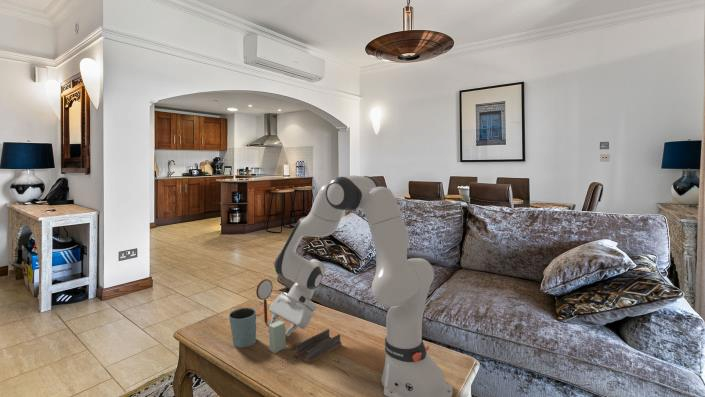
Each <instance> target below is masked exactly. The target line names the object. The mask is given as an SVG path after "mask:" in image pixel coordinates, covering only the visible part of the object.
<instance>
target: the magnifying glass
mask: <svg viewBox="0 0 705 397" xmlns="http://www.w3.org/2000/svg"><path fill="white" fill-rule="evenodd" d="M255 290H256V292H255V294H256V297H257V298H258V299H259V300H262V301H263V313H264V314H263V316H264V318H263V319H264V323H265V325H267V324H268V303H267V302H268V301H267V299H268V298H269V297H270V296H271V294H272V292H273V283H272V281H271V280H270V279H267V278H266V279H265V278H264V279H263V280H260V282H259V283H258V285H257V286H256V289H255Z"/></svg>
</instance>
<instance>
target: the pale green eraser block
mask: <svg viewBox="0 0 705 397" xmlns="http://www.w3.org/2000/svg"><path fill="white" fill-rule="evenodd" d="M269 324H270V323H269ZM269 324H268V332H269V333H268V335H269V336H268V337H269V350H270V352H272V353H274V354H276V353H278V352H280V351H283V350H284V349H286V347H287V346H286V345H287V344H286V335H285V334H284V332H285V330H286V322H285V321H282V320H278V321H277V320H276V322H275V323H272V324H270V325H269Z"/></svg>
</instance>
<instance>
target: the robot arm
mask: <svg viewBox="0 0 705 397" xmlns="http://www.w3.org/2000/svg"><path fill="white" fill-rule="evenodd" d="M357 209H358V210H361V211H362V212H363V213H364V215H365V217H366V221H367V224H368V228H369V231H370V234H371V238H372V241H373V245H374V251H375V257H376V258H375V260H376V261H375V262H376V263H375V265H376V266H375V275H374V277H373V280H372V282H371V293H372V295H373V298H374V299H375V301H376V302H377V303H378V304H379V305H380V306H382V307H384V308H389V309H388V311H387V314H386V317H385V318H386V326H385V327H386V328H385V329H386V330H385V331H386V336H385V338H384V352H385V360H384V366H383V371H382V373H381V374H382V375H381V378H380V380H381V382H380V383H381V384H382V387H383V394H384V396H385V397H453V395H454V390H453V389H454V388H453V386H452V385H450V384H449V383H447V382H446V379H445V374H444V371H443V370H442V368H441V367H440V366H439V365H437V363H436V362H435V361H434V360H433V359H432V358H431V356H429V354H428V353H427V351H429V350H430V345H426V346H425V343H424V340H423V339H422V334H423V333H422V332H423V331H422V330H423V315H424V312H425V311H424V310H425V306H426V302H427V300H428V299H427V298H428V295H429V294H428V293H429V290H430V287H431V284H432V283H433V281H434V278H435V270H434V268H433V266H432V264H431V263H430V262H429V261H428V260H426V259H424V258H421V257H417V258H416V257H414V258H412V257H411V258H408V247H409V244H410V235H409V233H408V230H407V226H406V224H405V220H404V217H403V215H402V211H401V209H400V206H399V203H398V202H397V200H396V198H395V196H394V194H393V192H392V191H391V189H390V188H389V187H386V186H385V187H384V186H381V185H380V182H378V180H377V179H375V178H374V177H371V176H367V175H363V176H360V175H348V176H347V175H346V176H338V177H336V178H333V179H332V180H331V181H329V183H326V184H324V185H322V186H321V187H320V189H319V190H318V192H317V195H316V196H315V199H314V201H313V203H312V207H311V209H310V210H309V211H310V212H309V213H308V214H307V216H302V217H301V218H299V219H298V220H297V222H296V223H295V225H294V227H293V229H292V231H291V232H290V234H289V236H288V239H287V240H286V242H285V244H284V246H283V247H282V250H281V251H280V252H279V254H278V255H277V257H276V259H275V260H274V263H273V267H274V269H275V272H276V274H277V275H279V276H280V277H281V276H282V277H283V278H286V279H288V280H289V281H291V282H293V285H292V286H291V287H290V289H289V291H288V292H285V291H284V292H281V293H280V294H279V295H278V296H277V297H276V298H275V299H274V300H273V302H272V303H271V304H270V306H269V308H268V311H269V312H270V313H272V315H271V319H270V320H271V321H270V322H269V324H268V326H269V325H270V324H272V323H275V322H277V320H278V318H280V319H283V320H285V321H287V322H289V323H290V326H289V327H288V328H287V329H286V328H285V332H284V334H285V336H286V337H289V336H290V335H291V333H293V332H294V331H295V330H297V328H300V329H302V330H304V329H305V328H307V326H308V325H309V323H310V321H311V320H312V317H313V314H314V312H315V311H316V310H317V305H316V304H315V303H314V302H313V301H312V300H311V299H312V297H313V296H314V292H315V290H317V289H318V287H319V286H320V284H321V283H322V281H323V278H324V276H325V273H326V271H327V268H326V266H325V264H324V263H323V262H322V261H320V260H319V259H316V258H312V259H310V260H309V259H307V258H305V257H303V256H302V255H299V254H298V253H297V251H296V250H297V249H298V246H299V244H300V242H301V241H302V239H303V237H315V238H324V237H327V236H330V235H332V234H333V233H335V232H336V230H337V228H338V226H339V225H340V221H341V220H342V219H341V218H342V215H343V212H344V211H356V210H357Z"/></svg>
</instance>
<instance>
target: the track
mask: <svg viewBox="0 0 705 397" xmlns="http://www.w3.org/2000/svg"><path fill="white" fill-rule="evenodd" d="M341 346H342V342H341V334H339V333H338V334H337V335H334V336H333V337H332V336H330V329H329V328H327V329H326V330H323V331H321V332H319V333H317V334H315V335H313V336H311V337H309V338H307V339H305V340H304V341H302V342H299V343H297V344H296V345H295V349H296V350H295V352H294V353H295V354H294V355H295V356H297V357H298V358H300V359H302V360H303V361H305V362H306V363H308V364H311V363H313V362H315V361H316V360H318V359H319V358H322V357H324V356H325V355H326V354H329V353H330V352H332V351H333V350H335V349H337V348H339V347H341Z"/></svg>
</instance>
